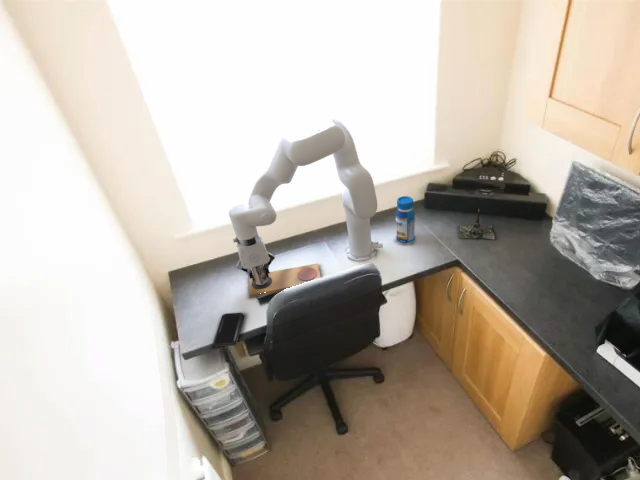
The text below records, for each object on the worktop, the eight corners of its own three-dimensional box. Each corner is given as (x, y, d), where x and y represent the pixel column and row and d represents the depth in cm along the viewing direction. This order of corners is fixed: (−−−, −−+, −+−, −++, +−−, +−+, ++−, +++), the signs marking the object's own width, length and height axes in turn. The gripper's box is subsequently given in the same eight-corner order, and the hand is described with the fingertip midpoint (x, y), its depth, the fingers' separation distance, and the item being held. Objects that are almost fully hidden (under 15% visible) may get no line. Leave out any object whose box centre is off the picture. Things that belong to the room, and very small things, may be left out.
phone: (243, 312, 151) (235, 343, 140) (244, 314, 152) (236, 345, 141) (222, 314, 151) (211, 344, 140) (223, 316, 152) (213, 347, 141)
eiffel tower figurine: (491, 226, 189) (495, 200, 180) (494, 239, 181) (499, 212, 173) (458, 226, 190) (461, 200, 181) (460, 239, 183) (462, 212, 174)
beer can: (265, 286, 161) (257, 262, 153) (253, 285, 162) (245, 261, 154) (270, 278, 165) (262, 254, 157) (259, 277, 166) (251, 253, 158)
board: (318, 266, 172) (317, 262, 171) (321, 284, 164) (321, 280, 162) (250, 278, 168) (249, 275, 167) (250, 297, 159) (248, 294, 158)
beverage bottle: (416, 243, 181) (417, 203, 168) (397, 246, 181) (396, 205, 167) (413, 233, 188) (413, 193, 174) (394, 235, 187) (393, 195, 174)
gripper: (225, 250, 145) (239, 288, 157) (273, 237, 149) (283, 276, 161) (223, 239, 150) (237, 277, 162) (269, 227, 155) (279, 265, 167)
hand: (260, 276), depth 162 cm, fingers closed on beer can, 4 cm apart
